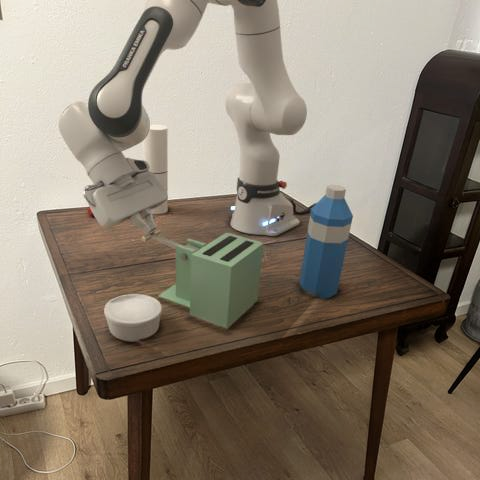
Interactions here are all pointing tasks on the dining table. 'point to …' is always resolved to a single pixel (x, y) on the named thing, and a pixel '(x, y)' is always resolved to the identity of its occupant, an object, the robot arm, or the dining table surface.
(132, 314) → the ramekin
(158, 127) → the cylindrical container
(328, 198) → the water bottle
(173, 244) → the lever
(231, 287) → the toaster
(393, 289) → the dining table surface
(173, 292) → the switch bracket
